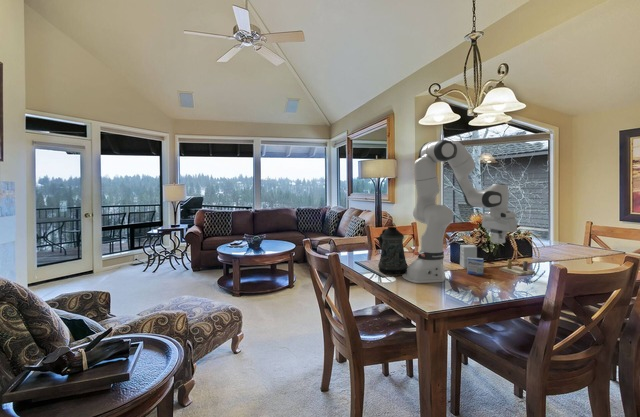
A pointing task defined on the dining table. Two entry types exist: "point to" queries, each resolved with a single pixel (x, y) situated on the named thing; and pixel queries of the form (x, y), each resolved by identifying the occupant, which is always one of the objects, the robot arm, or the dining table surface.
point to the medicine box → (475, 266)
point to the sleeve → (497, 236)
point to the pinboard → (517, 269)
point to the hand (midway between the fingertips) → (498, 238)
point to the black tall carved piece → (392, 252)
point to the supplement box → (467, 254)
